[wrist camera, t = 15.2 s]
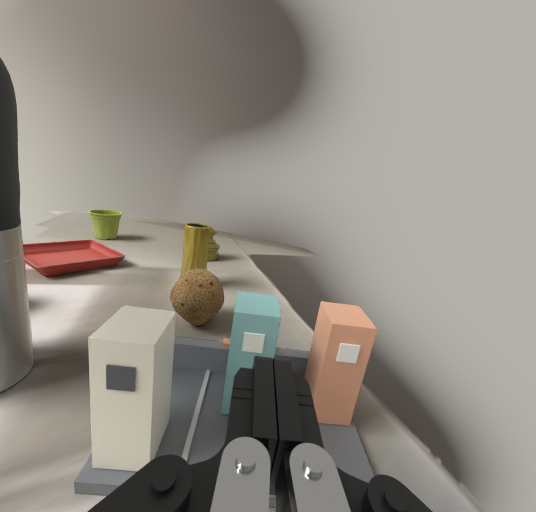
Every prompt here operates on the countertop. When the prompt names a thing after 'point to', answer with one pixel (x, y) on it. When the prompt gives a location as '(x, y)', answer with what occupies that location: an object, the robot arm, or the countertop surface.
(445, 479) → the countertop surface
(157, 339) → the key cream
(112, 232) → the plant pot
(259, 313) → the key teal
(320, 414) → the key terracotta
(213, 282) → the natural sponge
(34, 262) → the plant saucer
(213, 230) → the olive glossy tiered piece
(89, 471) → the grey divided tray
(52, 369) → the countertop surface
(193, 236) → the vase
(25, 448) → the countertop surface
